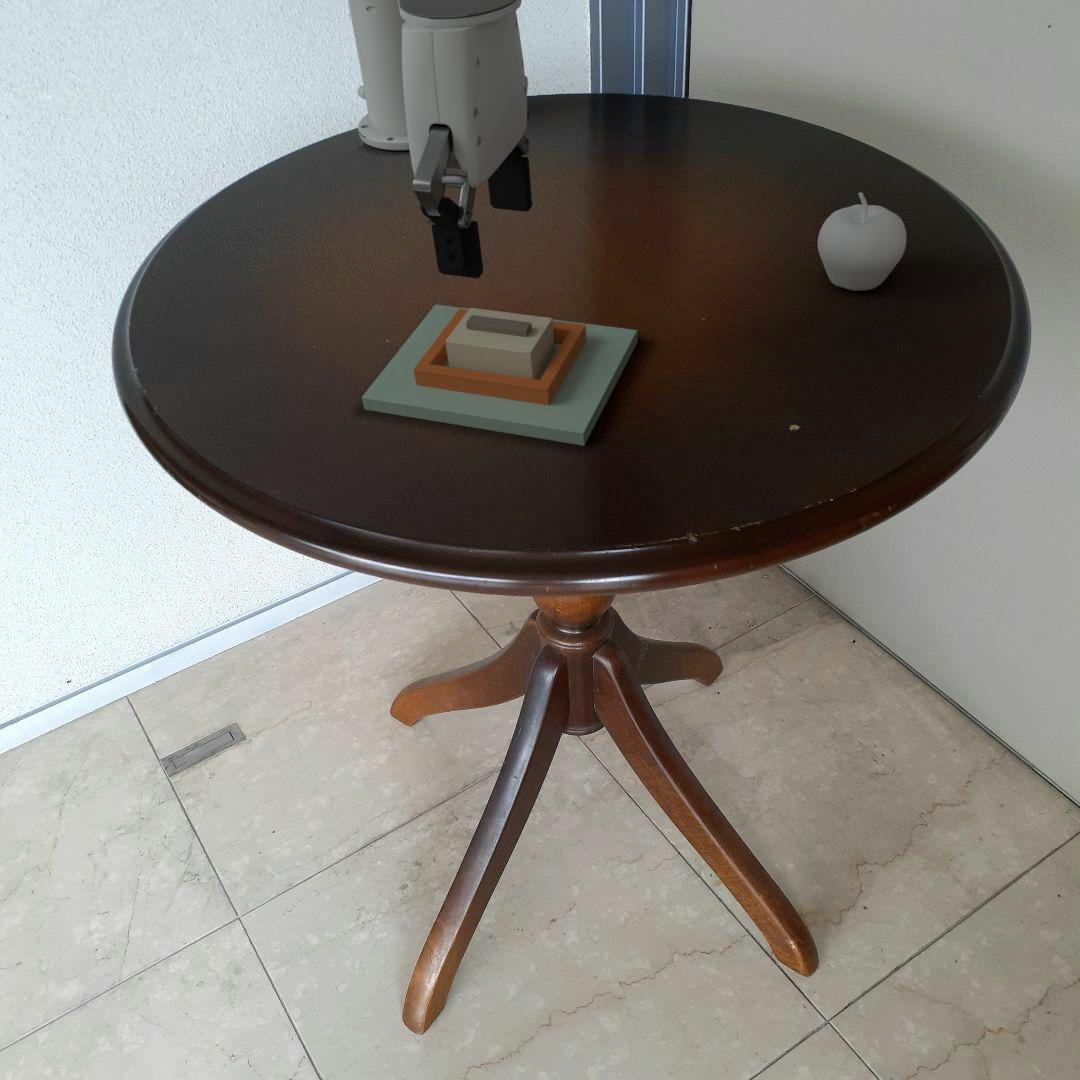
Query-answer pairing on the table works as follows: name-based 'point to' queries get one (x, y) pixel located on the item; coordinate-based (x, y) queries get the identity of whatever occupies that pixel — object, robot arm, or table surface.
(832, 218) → the plain white apple
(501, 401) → the board
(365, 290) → the table surface
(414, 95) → the robot arm
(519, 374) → the block
